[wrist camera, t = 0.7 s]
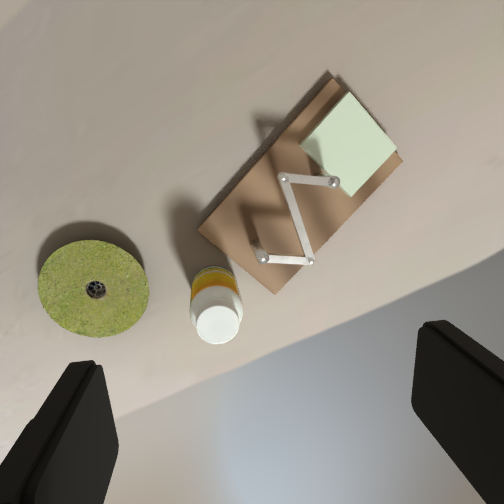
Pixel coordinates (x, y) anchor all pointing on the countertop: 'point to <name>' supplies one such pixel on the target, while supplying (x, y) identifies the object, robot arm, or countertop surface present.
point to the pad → (348, 144)
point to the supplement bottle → (215, 305)
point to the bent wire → (295, 219)
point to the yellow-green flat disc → (93, 288)
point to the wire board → (274, 205)
